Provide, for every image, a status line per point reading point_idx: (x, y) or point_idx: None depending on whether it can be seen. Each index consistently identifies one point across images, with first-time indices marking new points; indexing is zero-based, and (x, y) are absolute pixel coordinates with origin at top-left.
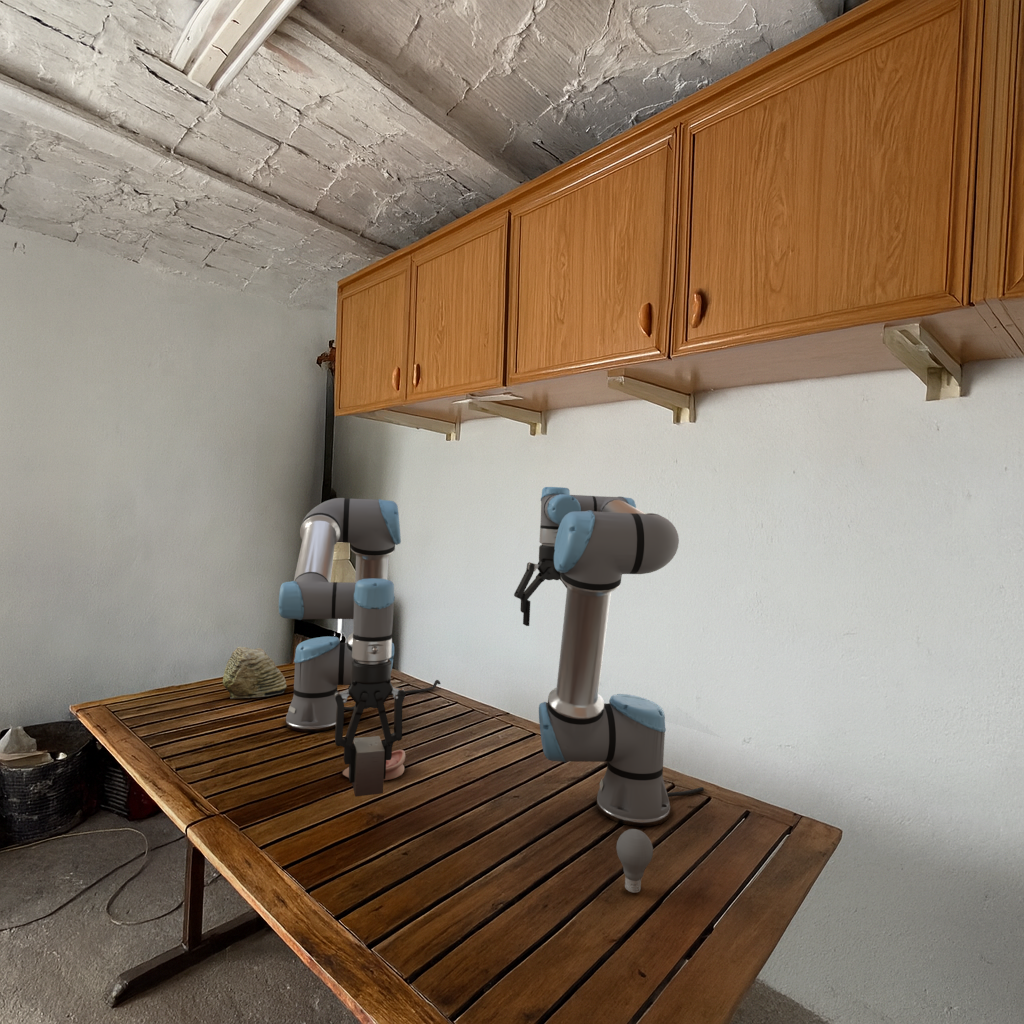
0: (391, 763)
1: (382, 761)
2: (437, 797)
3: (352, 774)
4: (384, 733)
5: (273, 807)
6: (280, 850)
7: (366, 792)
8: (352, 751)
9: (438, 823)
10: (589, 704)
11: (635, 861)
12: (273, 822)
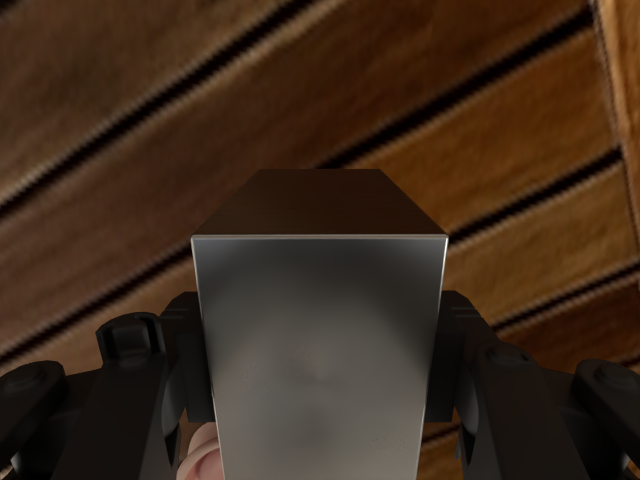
0: (216, 464)
1: (231, 207)
2: (102, 303)
3: None
4: (146, 430)
5: (536, 349)
6: (574, 124)
7: (332, 171)
8: (449, 321)
9: (100, 156)
10: None
11: None
12: (554, 278)
